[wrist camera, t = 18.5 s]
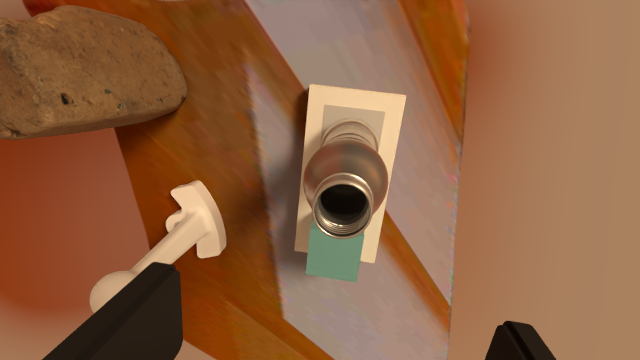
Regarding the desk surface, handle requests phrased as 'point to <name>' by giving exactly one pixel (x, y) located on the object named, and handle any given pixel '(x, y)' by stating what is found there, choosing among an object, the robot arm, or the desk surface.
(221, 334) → the desk surface
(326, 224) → the plastic bottle
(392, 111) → the board
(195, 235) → the joystick
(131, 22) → the block
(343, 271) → the cube
